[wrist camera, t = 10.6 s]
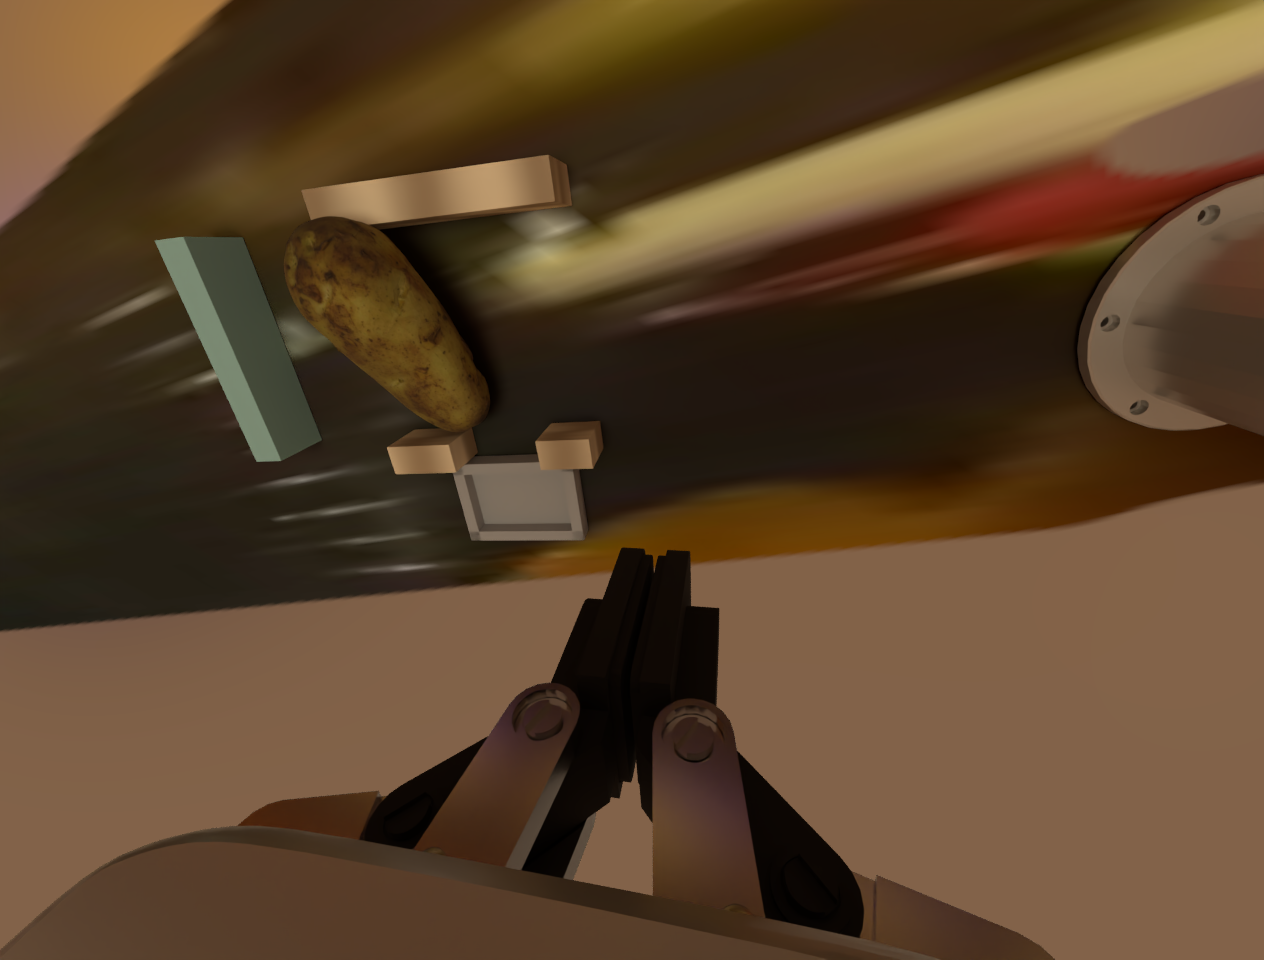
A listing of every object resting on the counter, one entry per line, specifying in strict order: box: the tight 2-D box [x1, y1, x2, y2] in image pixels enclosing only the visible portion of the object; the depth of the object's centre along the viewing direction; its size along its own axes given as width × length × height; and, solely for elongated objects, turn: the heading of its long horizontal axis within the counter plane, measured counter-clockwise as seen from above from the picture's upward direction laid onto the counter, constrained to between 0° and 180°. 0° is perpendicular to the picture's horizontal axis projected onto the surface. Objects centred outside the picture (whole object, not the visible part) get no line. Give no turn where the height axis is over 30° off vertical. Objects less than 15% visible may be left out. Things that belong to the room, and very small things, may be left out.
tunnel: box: [301, 155, 603, 474], centre depth 30 cm, size 14×17×4 cm
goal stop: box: [155, 237, 322, 462], centre depth 33 cm, size 2×14×4 cm, turn 6°
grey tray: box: [453, 454, 589, 540], centre depth 36 cm, size 9×6×2 cm
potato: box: [284, 216, 490, 433], centre depth 29 cm, size 8×13×8 cm, turn 7°
